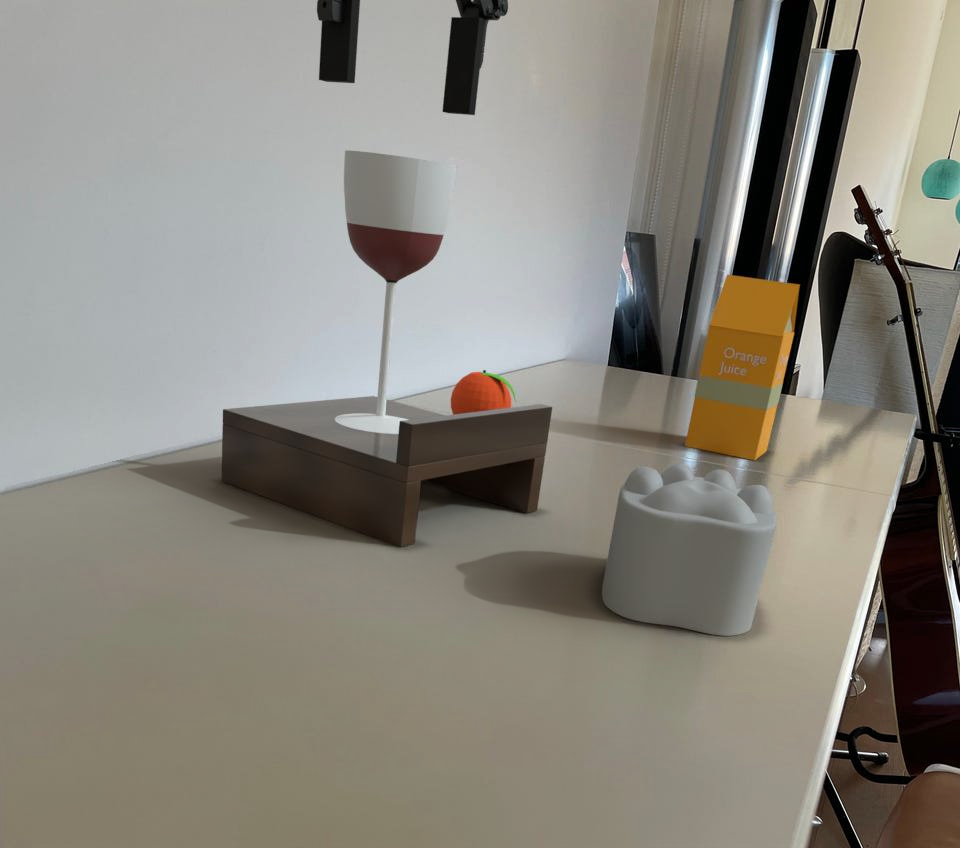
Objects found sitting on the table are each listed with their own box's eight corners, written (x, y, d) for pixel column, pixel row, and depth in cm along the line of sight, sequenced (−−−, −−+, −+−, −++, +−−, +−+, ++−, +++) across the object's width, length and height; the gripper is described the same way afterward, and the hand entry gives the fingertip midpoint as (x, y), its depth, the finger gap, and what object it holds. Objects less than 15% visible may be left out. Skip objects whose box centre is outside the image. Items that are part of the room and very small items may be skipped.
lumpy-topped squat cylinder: (596, 613, 64) (620, 484, 61) (608, 556, 76) (628, 445, 73) (757, 642, 63) (790, 511, 60) (744, 579, 75) (771, 467, 72)
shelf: (221, 481, 82) (223, 371, 79) (368, 457, 96) (375, 363, 93) (400, 547, 72) (412, 424, 69) (537, 510, 86) (552, 406, 82)
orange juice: (699, 437, 128) (733, 274, 120) (767, 451, 125) (806, 284, 117) (683, 446, 121) (718, 274, 114) (755, 460, 118) (795, 284, 110)
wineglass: (309, 414, 82) (323, 148, 74) (392, 411, 88) (413, 163, 80) (365, 437, 77) (387, 153, 69) (450, 431, 83) (478, 169, 75)
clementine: (526, 438, 114) (534, 375, 111) (495, 445, 109) (503, 379, 106) (468, 424, 118) (475, 363, 115) (435, 430, 112) (442, 366, 109)
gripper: (338, -382, 53) (315, 66, 62) (579, -197, 72) (537, 127, 81) (245, -355, 57) (235, 63, 65) (497, -186, 76) (465, 121, 84)
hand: (401, 99), depth 73 cm, fingers open, 13 cm apart
